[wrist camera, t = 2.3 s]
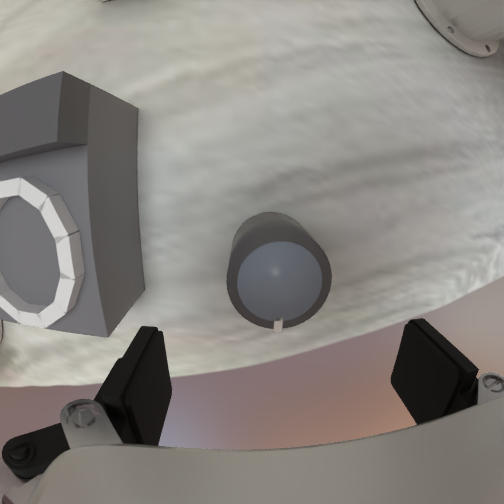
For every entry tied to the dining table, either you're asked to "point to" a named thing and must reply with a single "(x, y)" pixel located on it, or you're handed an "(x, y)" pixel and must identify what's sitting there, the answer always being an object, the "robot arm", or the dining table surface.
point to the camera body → (68, 207)
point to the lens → (277, 272)
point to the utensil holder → (0, 330)
